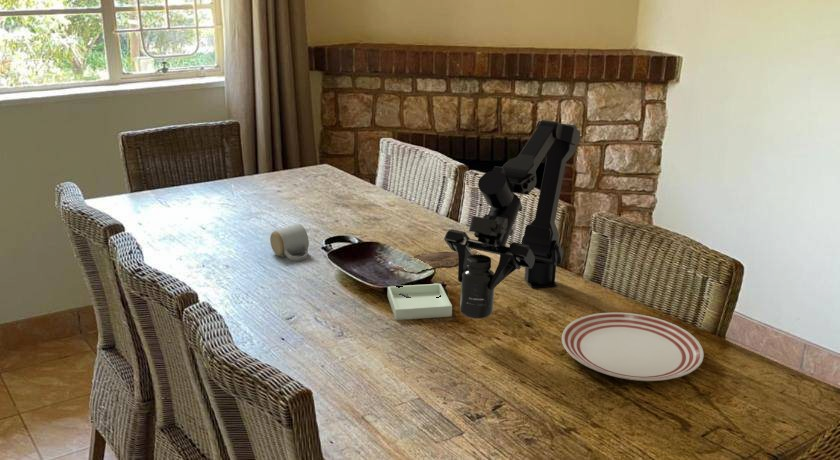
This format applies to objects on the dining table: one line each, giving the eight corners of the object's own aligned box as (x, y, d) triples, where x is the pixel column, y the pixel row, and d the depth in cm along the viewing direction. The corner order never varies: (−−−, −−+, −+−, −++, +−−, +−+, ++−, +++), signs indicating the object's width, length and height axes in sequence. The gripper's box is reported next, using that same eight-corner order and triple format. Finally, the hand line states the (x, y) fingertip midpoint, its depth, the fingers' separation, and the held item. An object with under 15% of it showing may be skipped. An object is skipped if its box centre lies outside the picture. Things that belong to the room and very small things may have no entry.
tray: (440, 293, 182) (440, 283, 181) (451, 316, 170) (452, 306, 170) (387, 296, 180) (387, 286, 179) (395, 320, 168) (395, 309, 167)
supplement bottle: (470, 322, 155) (472, 267, 151) (453, 308, 160) (455, 255, 156) (499, 315, 158) (502, 261, 154) (482, 302, 163) (484, 250, 159)
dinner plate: (681, 408, 137) (683, 391, 136) (539, 365, 151) (540, 350, 150) (715, 347, 159) (717, 332, 158) (588, 315, 173) (590, 301, 172)
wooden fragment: (403, 277, 192) (404, 273, 191) (384, 263, 201) (384, 259, 200) (490, 260, 203) (490, 257, 203) (468, 248, 212) (468, 244, 212)
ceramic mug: (268, 252, 206) (267, 225, 203) (295, 246, 210) (294, 219, 208) (288, 265, 198) (287, 237, 195) (316, 258, 203) (315, 231, 200)
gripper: (449, 192, 159) (421, 258, 154) (533, 207, 150) (506, 278, 145) (466, 217, 168) (439, 281, 163) (545, 233, 159) (521, 301, 154)
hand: (474, 285), depth 156 cm, fingers closed on supplement bottle, 7 cm apart
